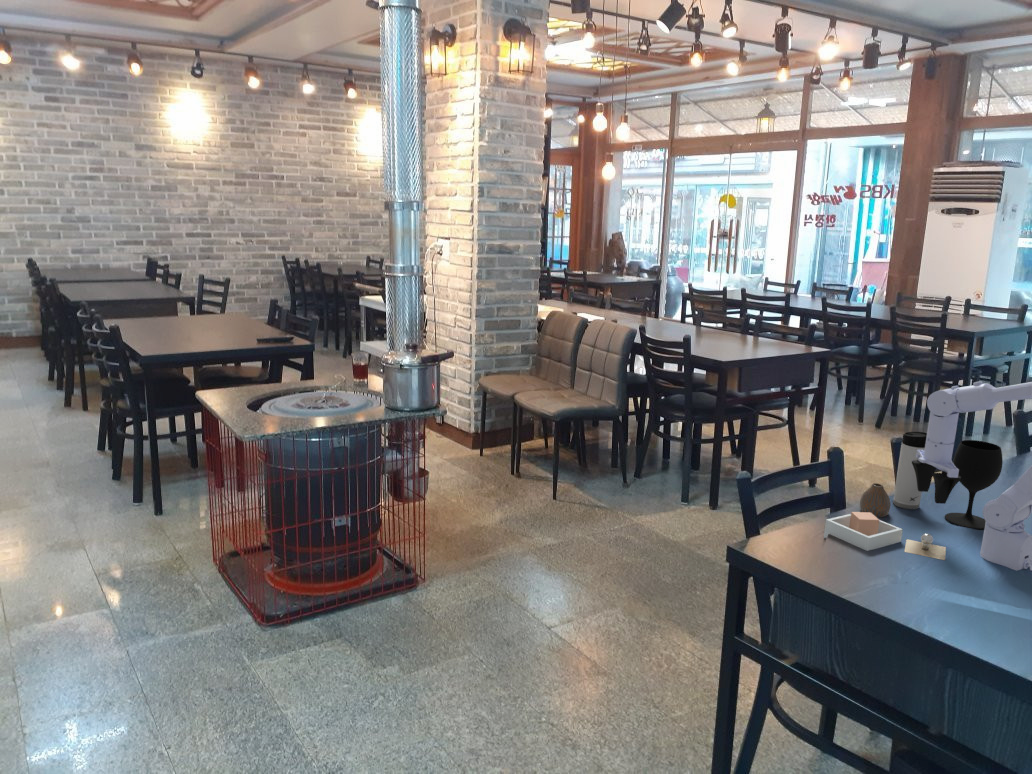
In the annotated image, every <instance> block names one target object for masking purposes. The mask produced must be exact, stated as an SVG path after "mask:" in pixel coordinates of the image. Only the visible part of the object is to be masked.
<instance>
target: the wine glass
mask: <svg viewBox="0 0 1032 774" xmlns="http://www.w3.org/2000/svg"><path fill="white" fill-rule="evenodd" d="M1003 459H1004V458H1003V451H1002V448H1001V446H1000V445H998V444H995V443H992V442H988V441H983V440H974V439H964V440H961V441H960V442H959V444H958V445H957V448H956V450H955V453H954V456H953V460H952V462H953V463H954V465H955V467H956V468H957V469H959V473H958V476H960V477H961V480H960V481H959V483H960V484H961V485H962V486H963V487H964V488H965V489H966V490H967V491H968V503H967V508H966V512H965V513H964V512H948V513H946V514H944V516H943V518H944V520H945V521H946V522H948V523H949V524H952V525H953V526H956V527H961V528H967V529H971V530H977V531H984V529H985V523H986V521H985V519H984V517H982V516H979V515H974V514H973V506H974V505H973V504H974V502H975V501H974V500H975V496H976V494H977V493H978V492H980V491H982V490H985V489H987V488H989V487H990V486H992V485H993V484H994V483H996V481H997V480H998V479H999V477H1000V475H1001V473H1002V468H1003Z"/></svg>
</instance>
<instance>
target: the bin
mask: <svg viewBox="0 0 1032 774" xmlns="http://www.w3.org/2000/svg"><path fill="white" fill-rule="evenodd" d="M850 519H851V513H848V514H844V515H841V516H840V515H839V516H836V517H831V518H827V519H825V526H824V532H823V533H824V534H823V538H824V539H828V537H829V535H830V536H833V537H836V538H837V539H840V540H842V541H844V542H846V543H849V544H850V545H852V546H855V547H858V548H859V549H862V550H865V551H867V552H869V551H873V550H877V549H880V548H883V547H887V546H891V545H895V544H898V543H901V542H902V538H903V529H902V528H901V527H898V526H895V525H894V524H890V523H889V522H885V521H883V520H881V519H879V526H878V533H877V534H875V535H871V536H867V535H865V534H862V533H860V532H858V531H855V530H853V529H851V528H849V526H850Z"/></svg>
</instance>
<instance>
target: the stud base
mask: <svg viewBox="0 0 1032 774" xmlns="http://www.w3.org/2000/svg"><path fill="white" fill-rule="evenodd" d="M920 540H921V541H919V540H918V541H916V540H913V539H906V540H905V547H904V553H908V554H913V555H917V556H922V557H926V558H927V557H928V558H933V559H938V560H942V561H946V552H947V547H946V546H942V545H937V544H932V543H933V542H934V538H933V536H932V534H930V533H923V534H922V535H921V536H920Z"/></svg>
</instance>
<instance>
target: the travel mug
mask: <svg viewBox="0 0 1032 774" xmlns="http://www.w3.org/2000/svg"><path fill="white" fill-rule="evenodd" d="M926 437H927V432H924V431H906V432H904V433H903V434H902V440H901V445H900V451H899V459H898V464H897V465H898V466H897V473H896V478H895V486H894V493H893V500H892V503H893V505H894V506H896V507H898V508H900V509H905V510H917V509H919V508H920V506H921V505H920V504H921V498H922V494H923V492H920V491H918V488H917V479H916V473H915V470H914V467H913V465H912V461H913V460H918V458H916V453H917V450H925V444H926Z"/></svg>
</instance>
